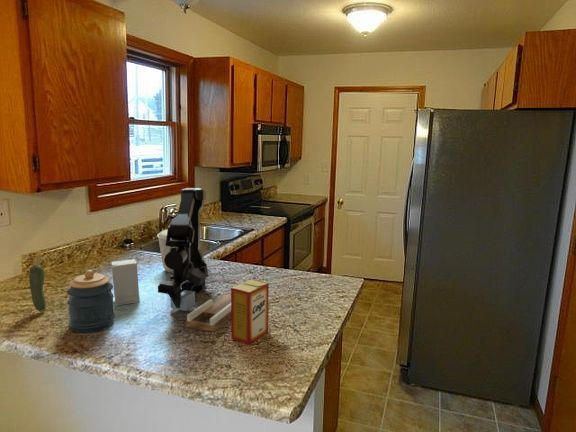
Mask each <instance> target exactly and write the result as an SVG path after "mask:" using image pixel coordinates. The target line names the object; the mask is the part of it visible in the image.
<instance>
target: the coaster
mask: <svg viewBox="0 0 576 432" xmlns="http://www.w3.org/2000/svg"><path fill="white" fill-rule="evenodd" d="M195 309H196V308H194V307H192V308H190V309H189V310H187V311H184V310H178V309H173V308H171V310H170V316H172V317H173V318H178V319H179V318H187V315H188V314H189V313H191V312H192V311H193V310H195Z"/></svg>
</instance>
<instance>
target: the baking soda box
mask: <svg viewBox="0 0 576 432" xmlns="http://www.w3.org/2000/svg"><path fill="white" fill-rule="evenodd" d="M269 285H270V284H269V283H268V282H264V281H260V280H256V279H252V278H251V279H249V280H246V281H244V282H242V283H239V284H237V285H235V286H233V287H230V295H231V318H230V319H231V321H230V322H231V323H230V324H231V325H230V326H231V331H230V333H231V334H230V336H231V337H230V338H231V340H235V341H236V342H237V341H238V342H241V343H244V344H247V345H250V344H252V343H254V342H255V341H257V340H258V339H260V338H261V337H264V336H265V335H266V334H268V333H269Z"/></svg>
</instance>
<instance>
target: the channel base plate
mask: <svg viewBox="0 0 576 432" xmlns="http://www.w3.org/2000/svg"><path fill="white" fill-rule="evenodd" d="M230 303H231V294H227V293H224V294H222V295H220V296H219V297H217V298H216V299H215V300H212V306H211V307H209V308H208V309H207V310H205V311H204V312H202V313H201V314H200V315H198V316H197V317H195V318H194V319H193V320H191V321H187V319H186V320H185V327H186V328H191V329H197V330H200V331H201V330H202V331H208V332H211V333H215V332H216V331H217V330H219V329H220V328H221V327H222V326H223V325H224V324H225V323H227V322H228V321H229V320H230V319H231V311H230V312H229V313H228V314H226V315H225V316H224V317H223V318H222V319H220V320H219V321H218V322H217V323H215V324H214V325H213V326H212V325H210V318H212V317H213V316H214V315H215V314H217V313H218V312H219V311H221V310H222V309H223V308H225V307H226V306H227V305H228V304H230Z"/></svg>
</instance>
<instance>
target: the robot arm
mask: <svg viewBox="0 0 576 432" xmlns="http://www.w3.org/2000/svg"><path fill="white" fill-rule="evenodd" d="M203 189H204V188H202V187H201V188H200V187H185V188H182V189H181V190H180V202H179V206H178V210H177V214H176V216H175V217H174V218H172V220H171V221H170V224H169V225H168V227H167V229H168V231H167V238H166V246H170V251H169V252H168V253H167V254H166V256H165V259H164V262H165V265H166V266H167V267H168V268H170V269H173V273H172V275H170V276H169V277H170V280H165V281H162V282H161V283H159V284H158V285H157V293H159V294H166V295H168V296H169V298H170V300H171V299H172V301H173V303H174V304H175V306H176V308H180V301H181V293H182V292H183V291H184V290H188V291H195V293H201V292H202V291H203V290H205V289H207V286H206V279H207V278H208V277H209V272H208V271H209V269H208V264H207V263H206V260H205V255H204V253H203V252H202V250H201V241H200V240H201V210H202V208H203V207H204V205H205V201H206V193H207V192H206V190H203ZM170 238H171V240H179V241H170ZM172 280H173V281H172Z"/></svg>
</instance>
